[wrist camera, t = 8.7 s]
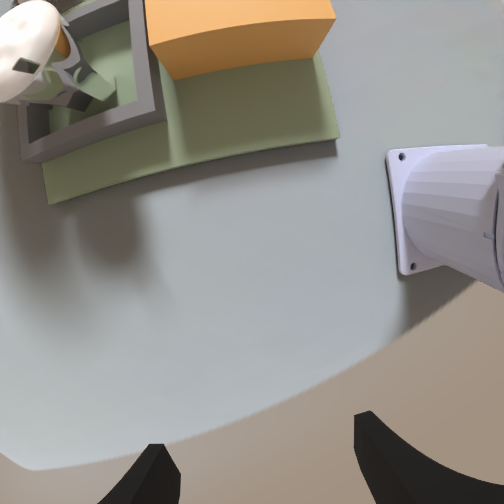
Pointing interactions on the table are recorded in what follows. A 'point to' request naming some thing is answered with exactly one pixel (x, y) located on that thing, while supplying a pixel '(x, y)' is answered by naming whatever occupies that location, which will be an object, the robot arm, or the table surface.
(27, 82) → the milkshake
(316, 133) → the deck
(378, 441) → the robot arm
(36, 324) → the table surface
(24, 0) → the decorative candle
